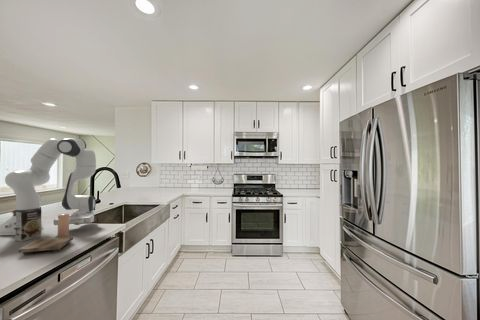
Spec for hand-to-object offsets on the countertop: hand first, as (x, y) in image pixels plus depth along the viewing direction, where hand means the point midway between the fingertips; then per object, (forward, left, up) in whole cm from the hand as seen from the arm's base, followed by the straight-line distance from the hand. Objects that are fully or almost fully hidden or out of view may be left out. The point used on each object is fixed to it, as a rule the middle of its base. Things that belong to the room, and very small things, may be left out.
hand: (68, 223), depth 128 cm
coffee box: (-20, +1, -8) cm, 21 cm away
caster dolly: (0, -21, -8) cm, 22 cm away
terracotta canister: (0, -6, -8) cm, 9 cm away
